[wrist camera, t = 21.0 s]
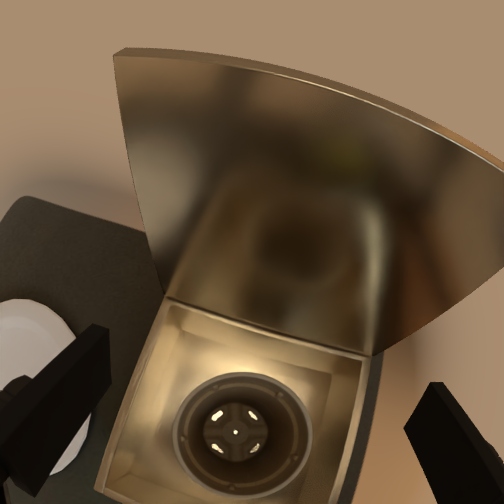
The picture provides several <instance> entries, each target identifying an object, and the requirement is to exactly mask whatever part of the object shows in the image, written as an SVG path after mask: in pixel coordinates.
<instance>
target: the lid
mask: <svg viewBox="0 0 504 504" xmlns="http://www.w3.org/2000/svg"><path fill="white" fill-rule="evenodd" d="M113 61H114V70H115V79H116V87H117V94H118V101H119V108H120V113H121V120H122V126H123V132H124V137H125V143H126V148H127V154H128V159H129V163H130V169H131V173H132V178H133V183H134V187H135V191H136V195H137V200H138V204H139V208H140V213H141V216H142V221H143V225H144V228H145V232H146V236H147V240H148V243H149V247H150V251H151V254H152V258H153V261H154V265H155V268H156V271H157V275H158V278H159V281H160V285H161V288H162V291H163V294H164V295H167V296H169V297H172V298H175V299H178V300H181V301H184V302H186V303H189V304H192V305H195V306H198V307H201V308H204V309H207V310H210V311H213V312H216V313H219V314H222V315H225V316H229V317H232V318H235V319H238V320H241V321H244V322H248V323H251V324H254V325H258V326H261V327H264V328H268V329H271V330H275V331H278V332H281V333H285V334H289V335H292V336H296V337H299V338H303V339H307V340H310V341H314V342H318V343H322V344H326V345H329V346H333V347H337V348H341V349H345V350H350V351H354V352H358V353H362V354H366V355H371V356H375V355H377V354H379V353H381V352H382V351H384V350H386V349H387V348H389V347H391V346H393V345H394V344H396V343H398V342H399V341H401V340H403V339H404V338H406V337H408V336H409V335H411V334H412V333H414V332H416V331H417V330H419V329H420V328H422V327H423V326H425V325H427V324H428V323H429V322H431V321H433V320H434V319H435V318H437V317H439V316H440V315H441V314H443V313H444V312H445V311H447V310H448V309H450V308H451V307H453V306H454V305H455V304H457V303H458V302H460V301H461V300H462V299H464V298H465V297H466V296H468V295H469V294H470V293H472V292H473V291H474V290H476V289H477V288H478V287H479V286H481V285H482V284H483V283H484V282H486V281H487V280H488V279H489V278H491V277H492V276H493V275H494V274H496V273H497V272H498V271H499V270H500V269H502V268H503V267H504V162H502V161H501V160H499V159H498V158H496V157H495V156H493V155H491V154H490V153H488V152H487V151H485V150H484V149H482V148H480V147H479V146H477V145H475V144H474V143H472V142H470V141H469V140H467V139H465V138H463V137H462V136H460V135H458V134H456V133H454V132H452V131H451V130H449V129H447V128H445V127H443V126H441V125H439V124H438V123H436V122H434V121H432V120H430V119H427V118H425V117H423V116H421V115H419V114H417V113H415V112H413V111H411V110H408V109H406V108H404V107H402V106H399V105H397V104H394V103H392V102H390V101H388V100H385V99H383V98H380V97H378V96H375V95H372V94H370V93H367V92H365V91H362V90H359V89H356V88H353V87H351V86H347V85H345V84H342V83H339V82H335V81H332V80H329V79H326V78H323V77H319V76H316V75H312V74H309V73H305V72H302V71H298V70H294V69H290V68H286V67H282V66H278V65H273V64H269V63H264V62H259V61H254V60H249V59H243V58H238V57H231V56H225V55H219V54H212V53H204V52H194V51H185V50H172V49H157V48H155V49H154V48H124V49H122V50H121V51H119V52H117V53H115V54H114V55H113Z"/></svg>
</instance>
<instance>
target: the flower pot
mask: <svg viewBox="0 0 504 504" xmlns="http://www.w3.org/2000/svg"><path fill="white" fill-rule="evenodd" d="M219 411H222V412H223V414H222V415H221V416H220V417H219V418H217V420H216V421H214V420H212V416H213V415H214V414H216V413H217V412H219ZM249 411H251V412H252V413H253V414H254V415H256V416H257V420H255V419H254V418H253V417H251V415H250V414H249ZM235 430H236V431H238V434H237V435H235V434H234V431H235ZM172 438H173V447H174V451H175V454H176V457H177V459H178V461H179V463H180V465H181V466H182V468H183V469H184V470H185V472H186V473H187V474H188V475H189V476H190V478H192V480H194V481H195V482H196V483H197V484H199V485H200V486H201V487H203V488H204V489H206V490H208V491H210V492H212V493H214V494H217V495H220V496H223V497H227V498H233V499H254V498H259V497H263V496H267V495H270V494H272V493H274V492H276V491H278V490H280V489H282V488H283V487H285V486H286V485H287V484H289V483H290V482H291V481H292V480H293V479H294V478H295V477H296V476H297V475H298V474H299V472H300V471H301V470H302V468H303V467H304V465H305V463H306V461H307V459H308V457H309V454H310V451H311V447H312V441H313V431H312V423H311V418H310V416H309V413H308V411H307V409H306V407H305V405H304V404H303V402H302V401H301V399H300V398H299V397H298V396H297V394H296V393H295V392H293V391H292V390H291V389H290V388H289V387H288V386H286V385H285V384H283V383H281V382H280V381H278V380H276V379H274V378H272V377H269V376H266V375H264V374H259V373H253V372H232V373H226V374H222V375H219V376H216V377H213V378H211V379H209V380H207V381H205V382H204V383H202V384H200V385H199V386H197V387H196V388H195V389H194V390H193V391H192V392H191V393H190V394H189V395H188V396H187V397H186V398H185V399H184V401H183V402H182V404H181V405H180V407H179V409H178V412H177V414H176V417H175V420H174V424H173V431H172ZM258 443H259V444H260V447H259V449H258V450H257V451H256V452H255V453H250V451H251V450H252V449H253V448H254V447H255V446H256V445H257V444H258ZM212 444H216V445H217V446H218V448H220V449H221V450H222V451H223V453H220V452H218V451H216V450H215V449H214V448H213V447H212Z"/></svg>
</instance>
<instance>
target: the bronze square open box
mask: <svg viewBox="0 0 504 504" xmlns="http://www.w3.org/2000/svg"><path fill="white" fill-rule="evenodd" d="M370 363H371V355H366V354H362V353H358V352H354V351H350V350H345V349H341V348H337V347H333V346H329V345H326V344H322V343H318V342H314V341H310V340H307V339H303V338H299V337H296V336H292V335H289V334H285V333H281V332H278V331H275V330H271V329H268V328H264V327H261V326H258V325H254V324H251V323H248V322H244V321H241V320H238V319H235V318H232V317H229V316H225V315H222V314H219V313H216V312H213V311H210V310H207V309H204V308H201V307H198V306H195V305H192V304H189V303H186V302H184V301H181V300H178V299H175V298H172V297H169V296H167V295H165V297H164V299H163V301H162V304H161V306H160V308H159V311H158V313H157V315H156V318H155V320H154V322H153V325H152V327H151V330H150V332H149V334H148V337H147V339H146V342H145V344H144V347H143V349H142V352H141V354H140V357H139V359H138V362H137V364H136V367H135V369H134V372H133V375H132V377H131V380H130V382H129V385H128V388H127V390H126V393H125V396H124V398H123V401H122V404H121V407H120V409H119V412H118V415H117V418H116V421H115V424H114V426H113V429H112V432H111V435H110V438H109V441H108V444H107V447H106V450H105V453H104V456H103V460H102V463H101V466H100V469H99V472H98V476H97V479H96V482H95V486H94V490H96V491H98V492H100V493H103V494H104V495H106V496H108V497H110V498H112V499H114V500H116V501H118V502H121V503H123V504H337V501H338V498H339V495H340V492H341V489H342V485H343V482H344V479H345V475H346V472H347V469H348V465H349V461H350V458H351V454H352V450H353V446H354V442H355V438H356V434H357V430H358V426H359V421H360V417H361V412H362V407H363V402H364V397H365V392H366V386H367V381H368V375H369V369H370ZM232 372H253V373H259V374H264V375H266V376H269V377H272V378H274V379H276V380H278V381H280V382H281V383H283V384H285V385H286V386H288V387H289V388H290V389H291V390H292V391H293V392H295V393H296V394H297V396H298V397H299V398H300V399H301V401H302V402H303V404H304V405H305V407H306V409H307V411H308V413H309V416H310V418H311V423H312V431H313V441H312V447H311V451H310V454H309V457H308V459H307V461H306V463H305V465H304V467H303V468H302V470H301V471H300V472H299V474H298V475H297V476H296V477H295V478H294V479H293V480H292V481H291V482H290V483H289V484H287V485H286V486H285V487H283V488H282V489H280V490H278V491H276V492H274V493H272V494H270V495H267V496H263V497H259V498H254V499H233V498H227V497H223V496H220V495H217V494H214V493H212V492H210V491H208V490H206V489H204V488H203V487H201V486H200V485H199V484H197V483H196V482H195V481H194V480H192V478H190V476H189V475H188V474H187V473H186V472H185V470H184V469H183V468H182V466H181V465H180V463H179V461H178V459H177V457H176V454H175V451H174V447H173V438H172V431H173V424H174V420H175V417H176V414H177V412H178V409H179V407H180V405H181V404H182V402H183V401H184V399H185V398H186V397H187V396H188V395H189V394H190V393H191V392H192V391H193V390H194V389H195V388H196V387H197V386H199V385H200V384H202V383H204V382H205V381H207V380H209V379H211V378H213V377H216V376H219V375H222V374H226V373H232ZM222 414H223V412H222V411H219V412H217V413H216V414H214V415H213V416H212V420H214V421H216V420H217V418H219V417H220V416H221V415H222ZM249 414H250V415H251V417H253V418H254V419H255V420H257V416H256V415H254V414H253V413H252V412H251V411H249ZM234 434H235V435H237V434H238V431H236V430H235V431H234ZM212 447H213V448H214V449H215V450H216V451H218V452H220V453H223V451H222V450H221V449H220V448H218V446H217V445H216V444H212ZM259 447H260V444H259V443H258V444H257V445H256V446H255V447H254V448H253V449H252V450H251V451H250V453H255V452H256V451H257V450H258V449H259Z"/></svg>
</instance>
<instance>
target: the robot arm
mask: <svg viewBox="0 0 504 504" xmlns="http://www.w3.org/2000/svg"><path fill="white" fill-rule="evenodd" d="M111 384H112V381H111V365H110V341H109V329H108V328H105V327H102V326H99V325H96V324H93V323H92V324H91V325H90V326H89V327H88V328H87V329H86V330H85V331H83V332H82V333H81V334H80V335H79V336H78V337H77V338H76V339H75V340H73V341H72V342H71V343H70V344H69V345H68V346H67V347H66V348H65V349H64V350H63V351H61V352H60V353H59V354H58V355H57V356H56V357H55V358H54V359H53V360H52V361H51V362H50V363H49V364H47V365H46V366H45V367H44V368H43V369H42V370H41V371H40V372H39V373H38V374H37V375H36V376H35V377H34V378H33V379H32V378H30V377H29V376H27V375H22V376H20V377H17V378H15V379H13V380H11V381H10V382H9V383H8V384H7V385H6V386H5V387H4V388H3V390H0V504H11V501H10V497H9V492H8V487H7V484H6V482H5V481H6V480H7V478H8V477H9V476H10V478H11V479H12V481H13V482H14V484H15V485H16V486H17V487H19V488H20V489H22V490H23V491H25V492H26V493H28V494H30V495H31V496H33V497H34V498H35V497H36V495H37V494H38V492H39V490H40V489H41V487H42V486H43V484H44V482H45V481H46V479H47V478H48V476H49V475H50V473H51V472H52V470H53V469H54V467H55V466H56V464H57V462H58V461H59V459H60V458H61V456H62V455H63V453H64V452H65V450H66V449H67V447H68V446H69V444H70V443H71V441H72V440H73V438H74V437H75V436H76V434H77V433H78V431H79V430H80V428H81V427H82V425H83V424H84V422H85V421H86V419H87V418H88V417H89V415H90V414H91V412H92V411H93V409H94V408H95V406H96V405H97V404H98V402H99V401H100V399H101V398H102V396H103V395H104V394H105V392H106V391H107V389H108V388H109V387H110V385H111ZM404 430H405V432H406V435H407V437H408V439H409V441H410V443H411V445H412V447H413V450H414V451H415V454H416V456H417V458H418V460H419V462H420V465H421V467H422V469H423V471H424V474H425V476H426V478H427V480H428V482H429V485H430V487H431V489H432V492H433V494H434V496H435V499H436V501H437V504H504V464H503V461H502V459H501V458H500V457H499V455H498V453H497V452H496V450H495V449H494V447H493V446H492V445H490V444H489V443H488V442H487V441H486V440H485V439H484V438H483V437H482V435H481V434H480V432H479V431H478V429H477V428H476V427H475V425H474V424H473V422H472V421H471V420H470V418H469V417H468V415H467V414H466V413H465V411H464V410H463V409H462V407H461V406H460V405H459V403H458V402H457V400H456V399H455V398H454V396H453V395H452V394H451V392H450V391H449V390H448V389H447V387H446V386H445V385H444V383H443V382H430V383H429V385H428V387H427V389H426V391H425V392H424V394H423V396H422V398H421V399H420V401H419V403H418V405H417V406H416V408H415V410H414V412H413V413H412V415H411V416H410V418H409V420H408V421H407V423H406V425H405V426H404Z"/></svg>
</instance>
